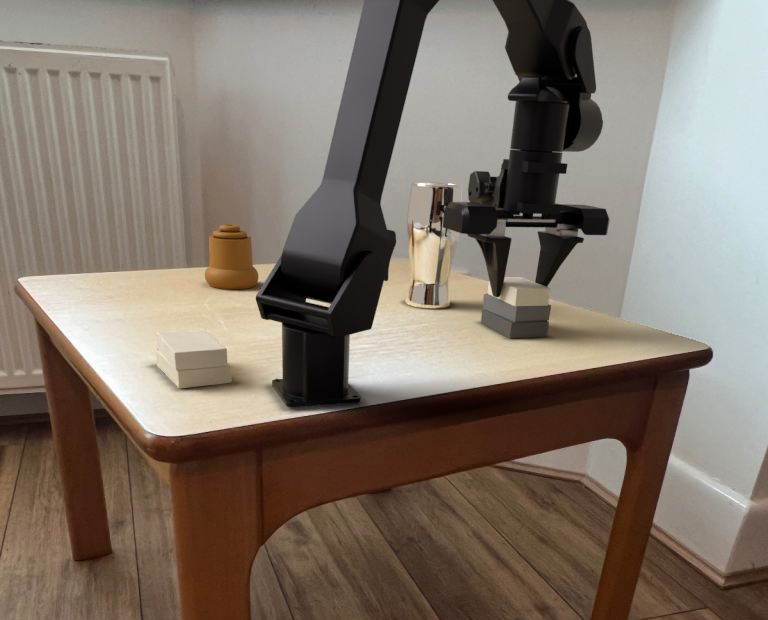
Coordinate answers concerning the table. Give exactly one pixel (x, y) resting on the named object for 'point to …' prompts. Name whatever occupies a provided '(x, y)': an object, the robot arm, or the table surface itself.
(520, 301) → the off-white rectangular block
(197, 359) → the white books
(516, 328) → the grey books
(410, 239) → the beer glass
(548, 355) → the table surface
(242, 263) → the ornamental finial
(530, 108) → the robot arm
